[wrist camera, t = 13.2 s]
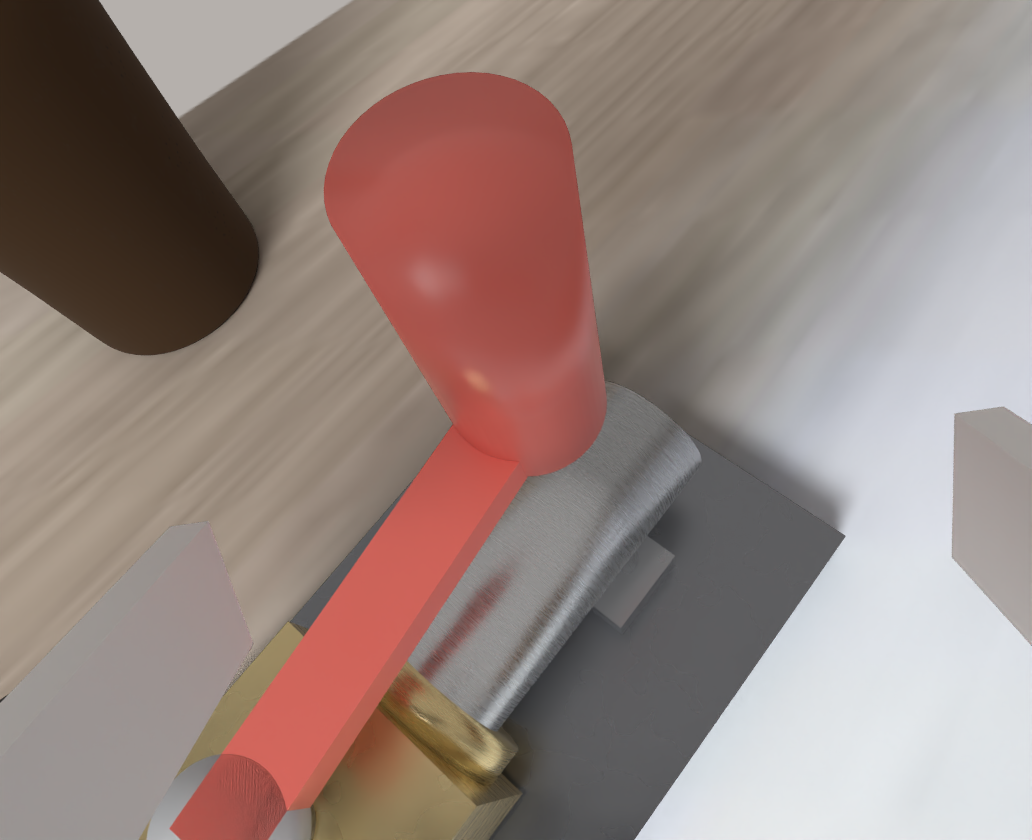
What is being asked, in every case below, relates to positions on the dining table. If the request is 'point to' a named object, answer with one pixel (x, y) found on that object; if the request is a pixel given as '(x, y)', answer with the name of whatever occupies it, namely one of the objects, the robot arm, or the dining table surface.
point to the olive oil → (109, 188)
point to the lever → (462, 393)
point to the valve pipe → (567, 648)
